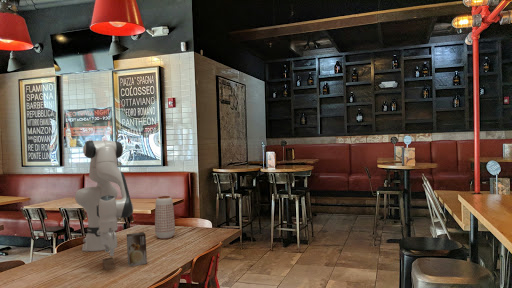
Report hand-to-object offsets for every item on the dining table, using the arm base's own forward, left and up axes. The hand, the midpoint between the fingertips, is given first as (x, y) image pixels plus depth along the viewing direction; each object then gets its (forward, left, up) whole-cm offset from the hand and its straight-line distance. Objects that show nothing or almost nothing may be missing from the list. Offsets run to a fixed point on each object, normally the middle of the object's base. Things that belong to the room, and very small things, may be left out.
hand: (109, 253), depth 192 cm
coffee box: (+1, +14, -8) cm, 16 cm away
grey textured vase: (-45, +47, -8) cm, 65 cm away
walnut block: (-1, 0, -8) cm, 8 cm away
